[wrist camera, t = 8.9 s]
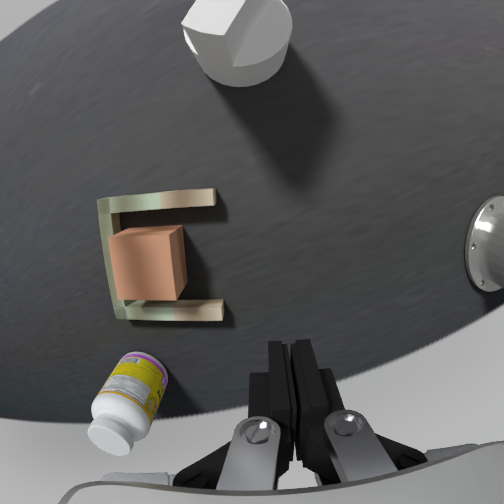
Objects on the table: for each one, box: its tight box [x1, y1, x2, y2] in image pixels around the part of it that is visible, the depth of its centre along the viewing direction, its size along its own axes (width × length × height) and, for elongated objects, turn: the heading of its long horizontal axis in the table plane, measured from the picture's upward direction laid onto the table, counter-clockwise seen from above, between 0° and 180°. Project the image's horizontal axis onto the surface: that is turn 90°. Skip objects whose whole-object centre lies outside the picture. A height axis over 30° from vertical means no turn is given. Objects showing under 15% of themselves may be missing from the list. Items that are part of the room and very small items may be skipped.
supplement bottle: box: [88, 352, 168, 456], centre depth 28 cm, size 7×7×13 cm
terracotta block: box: [108, 225, 188, 300], centre depth 28 cm, size 6×6×5 cm
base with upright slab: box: [181, 0, 292, 87], centre depth 19 cm, size 9×9×12 cm
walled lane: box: [97, 188, 224, 321], centre depth 29 cm, size 12×13×2 cm
